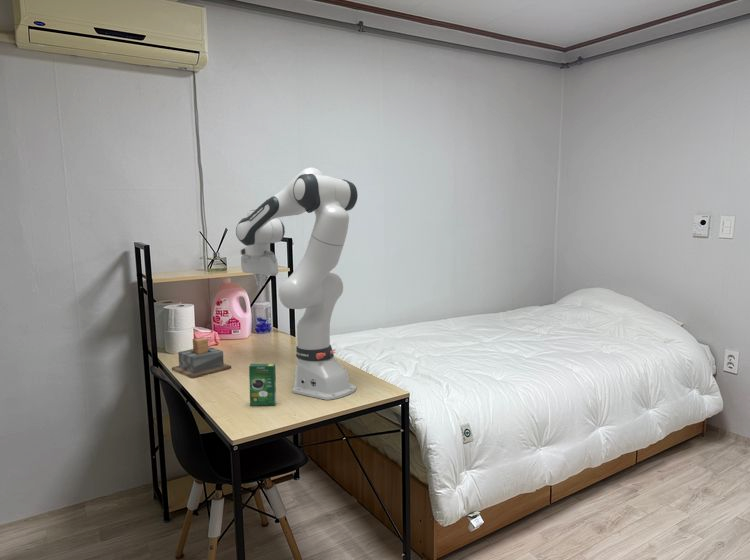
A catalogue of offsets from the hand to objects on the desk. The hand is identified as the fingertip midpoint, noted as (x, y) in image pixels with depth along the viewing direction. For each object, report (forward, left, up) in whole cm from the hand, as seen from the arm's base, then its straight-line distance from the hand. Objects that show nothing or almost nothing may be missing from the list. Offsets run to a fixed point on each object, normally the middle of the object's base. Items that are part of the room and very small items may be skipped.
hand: (260, 285), depth 208 cm
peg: (+8, +23, -29) cm, 38 cm away
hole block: (+8, +23, -31) cm, 39 cm away
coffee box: (-41, +29, -31) cm, 59 cm away
